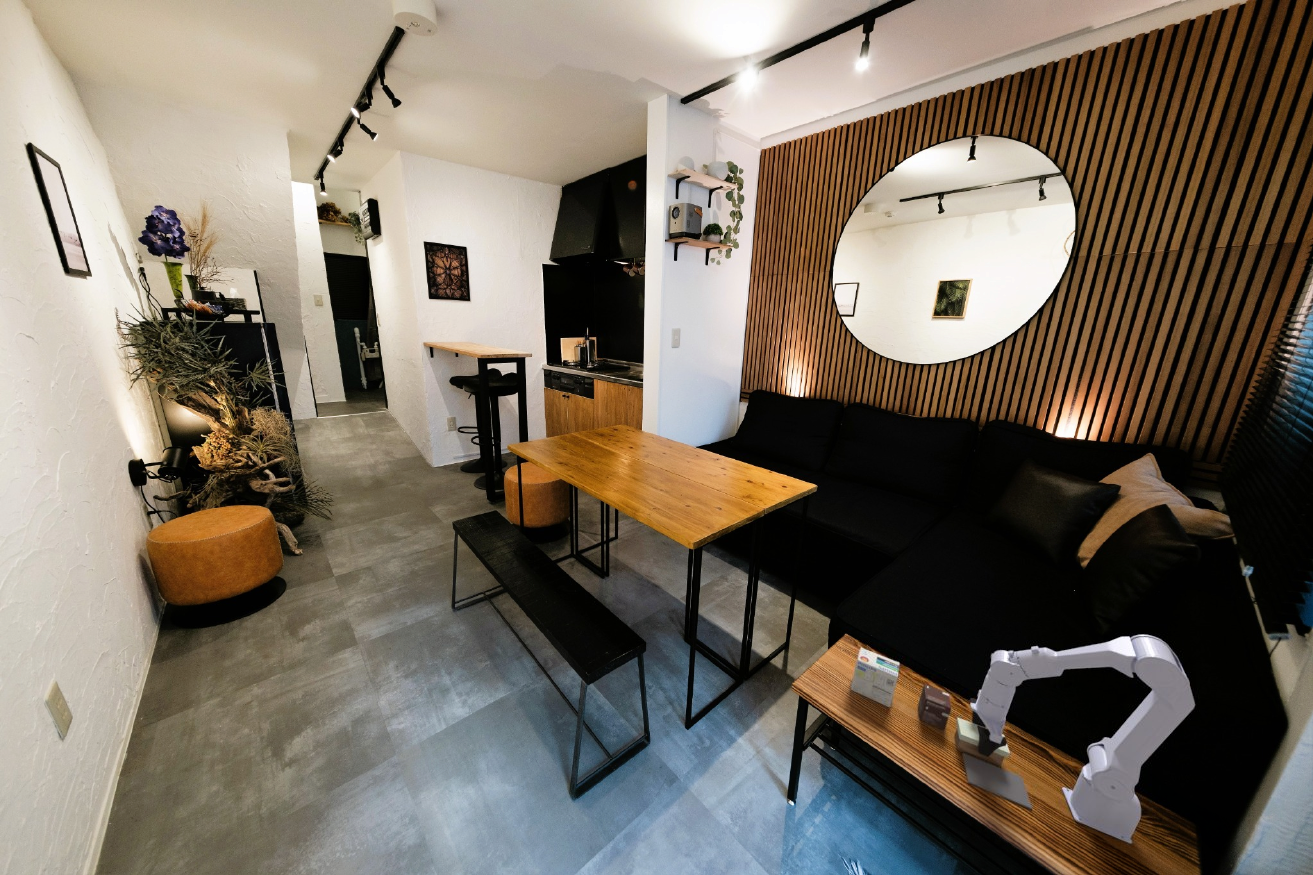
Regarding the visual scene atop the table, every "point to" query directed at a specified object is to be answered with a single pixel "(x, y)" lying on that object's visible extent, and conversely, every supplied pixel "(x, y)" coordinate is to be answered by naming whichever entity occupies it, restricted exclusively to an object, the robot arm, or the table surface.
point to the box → (934, 706)
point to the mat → (996, 780)
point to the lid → (975, 735)
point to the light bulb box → (875, 676)
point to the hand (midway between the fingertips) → (980, 740)
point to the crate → (973, 751)
